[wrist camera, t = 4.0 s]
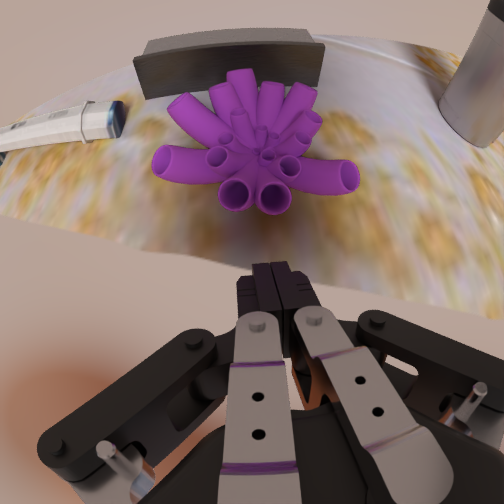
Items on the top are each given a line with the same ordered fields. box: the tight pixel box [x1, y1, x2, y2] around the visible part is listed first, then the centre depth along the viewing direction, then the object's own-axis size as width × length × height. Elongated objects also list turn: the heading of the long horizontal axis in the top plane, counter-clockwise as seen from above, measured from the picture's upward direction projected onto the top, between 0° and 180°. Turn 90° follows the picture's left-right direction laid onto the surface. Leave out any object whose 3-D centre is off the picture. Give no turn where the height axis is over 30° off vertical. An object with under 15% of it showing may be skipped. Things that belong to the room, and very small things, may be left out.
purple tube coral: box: [152, 68, 360, 215], centre depth 19 cm, size 11×15×10 cm
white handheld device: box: [0, 101, 126, 166], centre depth 23 cm, size 5×7×25 cm
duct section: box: [133, 28, 325, 100], centre depth 25 cm, size 19×6×6 cm, turn 95°
